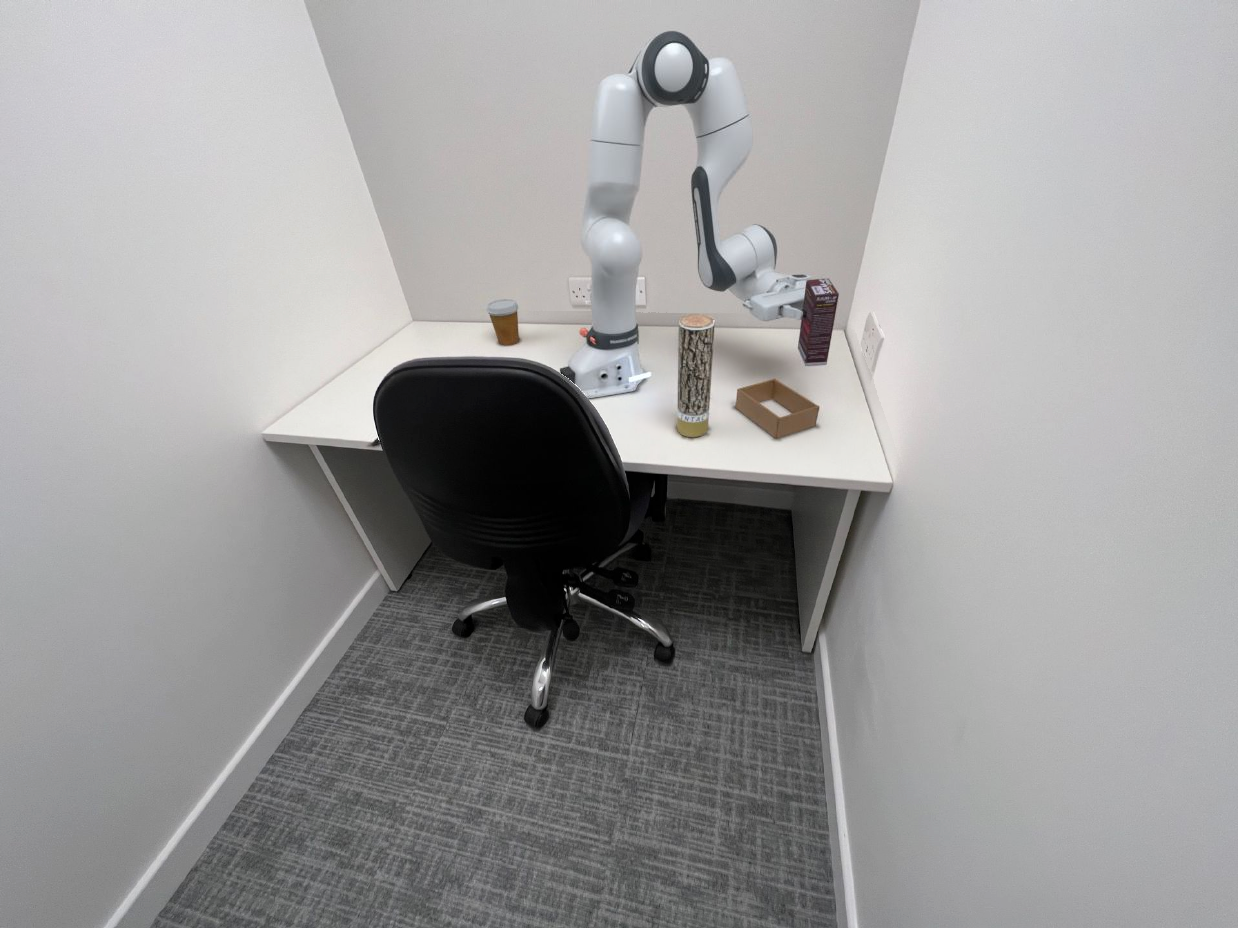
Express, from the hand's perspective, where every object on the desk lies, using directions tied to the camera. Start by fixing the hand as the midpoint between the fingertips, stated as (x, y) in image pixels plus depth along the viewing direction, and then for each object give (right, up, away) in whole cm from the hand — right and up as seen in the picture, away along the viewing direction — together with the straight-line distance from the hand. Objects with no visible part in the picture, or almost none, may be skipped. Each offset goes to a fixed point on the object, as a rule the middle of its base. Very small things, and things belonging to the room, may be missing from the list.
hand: (817, 312), depth 105 cm
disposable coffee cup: (-77, +6, +51) cm, 93 cm away
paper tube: (-26, -25, +5) cm, 36 cm away
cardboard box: (-7, -22, +7) cm, 24 cm away
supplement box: (+1, -9, +5) cm, 10 cm away
